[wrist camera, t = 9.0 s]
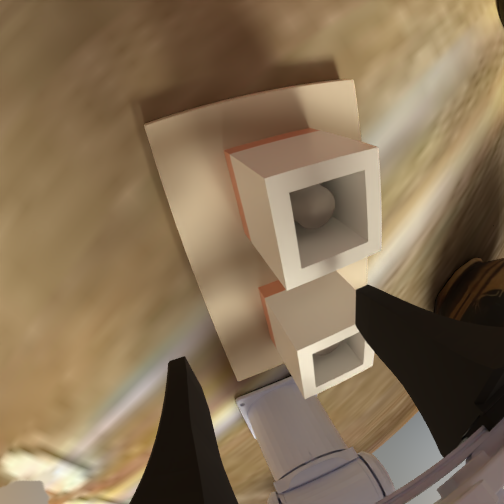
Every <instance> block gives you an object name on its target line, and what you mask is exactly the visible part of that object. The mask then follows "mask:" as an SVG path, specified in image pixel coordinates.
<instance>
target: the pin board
mask: <svg viewBox="0 0 504 504" xmlns="http://www.w3.org/2000/svg"><path fill="white" fill-rule="evenodd" d="M144 127H145V130H146V134H147V137H148V140H149V144H150V147H151V150H152V153H153V157H154V160H155V163H156V166H157V169H158V172H159V175H160V178H161V182H162V185H163V188H164V191H165V194H166V197H167V200H168V203H169V206H170V209H171V211H172V214H173V217H174V220H175V223H176V226H177V229H178V232H179V234H180V237H181V240H182V243H183V246H184V248H185V251H186V254H187V257H188V259H189V262H190V265H191V267H192V270H193V273H194V275H195V278H196V281H197V283H198V286H199V288H200V291H201V294H202V296H203V299H204V301H205V304H206V306H207V309H208V311H209V314H210V316H211V319H212V321H213V324H214V326H215V329H216V331H217V334H218V336H219V339H220V341H221V343H222V346H223V348H224V351H225V353H226V355H227V358H228V360H229V362H230V365H231V367H232V369H233V372H234V374H235V376H236V379H237V381H238V382H239V381H241V380H244V379H247V378H249V377H252V376H254V375H257V374H260V373H262V372H265V371H267V370H270V369H272V368H275V367H277V366H279V365H282V364H284V362H283V360H282V358H281V356H280V354H279V353H278V351H277V349H276V347H275V345H274V344H273V342H272V340H271V337H270V333H269V329H268V325H267V321H266V317H265V314H264V310H263V306H262V302H261V298H260V294H259V290H258V287H261V286H264V285H266V284H269V283H272V282H274V281H277V280H279V279H278V278H277V277H276V275H275V274H274V273H273V271H272V270H271V268H270V267H269V266H268V264H267V263H266V262H265V260H264V259H263V257H262V256H261V255H260V253H259V252H258V251H257V249H256V248H255V247H254V245H253V244H252V242H251V241H250V240H249V238H248V237H247V236H246V234H245V232H244V228H243V224H242V221H241V217H240V213H239V209H238V205H237V201H236V197H235V193H234V189H233V185H232V181H231V178H230V174H229V170H228V166H227V162H226V158H225V154H224V150H226V149H230V148H233V147H236V146H240V145H243V144H247V143H251V142H254V141H258V140H262V139H265V138H269V137H273V136H277V135H281V134H285V133H289V132H293V131H297V130H302V129H306V128H312V129H316V130H320V131H324V132H328V133H332V134H335V135H339V136H343V137H346V138H350V139H353V140H357V141H360V142H362V141H361V131H360V122H359V114H358V106H357V99H356V92H355V85H354V80H353V79H339V80H330V81H323V82H315V83H308V84H302V85H296V86H290V87H284V88H278V89H273V90H268V91H263V92H258V93H253V94H249V95H244V96H240V97H235V98H231V99H227V100H223V101H219V102H215V103H211V104H207V105H204V106H200V107H196V108H193V109H189V110H186V111H183V112H179V113H176V114H173V115H169V116H166V117H163V118H160V119H157V120H154V121H151V122H148V123H145V124H144ZM289 195H290V201H291V206H292V212H293V218H294V220H295V221H297V222H298V223H299V224H300V225H301V226H303V227H304V228H307V229H317V228H319V227H322V226H323V225H325V224H326V223H327V222H328V221H329V220H330V218H331V217H332V215H333V212H334V209H335V199H334V196H333V194H332V193H331V192H330V191H329V190H328V189H327V188H325V187H323V186H321V185H320V184H316V185H313V186H309V187H306V188H303V189H300V190H297V191H293V192H290V193H289ZM336 271H337V272H338V273H339V274H340V275H341V276H342V277H343V278H344V279H345V280H346V281H347V282H348V283H349V284H350V285H351V286H352V287H353V288H354V289H355V290H357V289H359V288H361V287H363V286H365V285H367V257H366V258H364V259H362V260H359V261H357V262H355V263H352V264H350V265H348V266H345V267H343V268H341V269H338V270H336ZM340 343H341V341H340V342H338V343H336V344H333V345H331V346H329V347H327V348H325V349H323V350H321V351H318V352H316V353H315V354H316V355H320V356H322V355H326V354H329V353H331V352H332V351H334V350H335V349H336V348H337V347H338V346H339V345H340Z"/></svg>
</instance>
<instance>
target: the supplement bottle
mask: <svg viewBox="0 0 504 504" xmlns="http://www.w3.org/2000/svg"><path fill="white" fill-rule="evenodd" d="M498 8H499V13H500V17H501V20H502V23H503V26H504V0H498Z"/></svg>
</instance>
